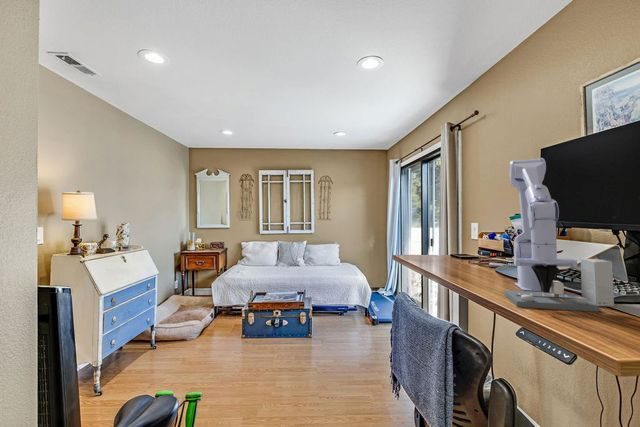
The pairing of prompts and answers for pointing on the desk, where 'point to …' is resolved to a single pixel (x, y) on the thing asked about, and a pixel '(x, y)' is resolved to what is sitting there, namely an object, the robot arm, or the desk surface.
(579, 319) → the desk surface
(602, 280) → the skincare box
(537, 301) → the console
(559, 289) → the fader tab
